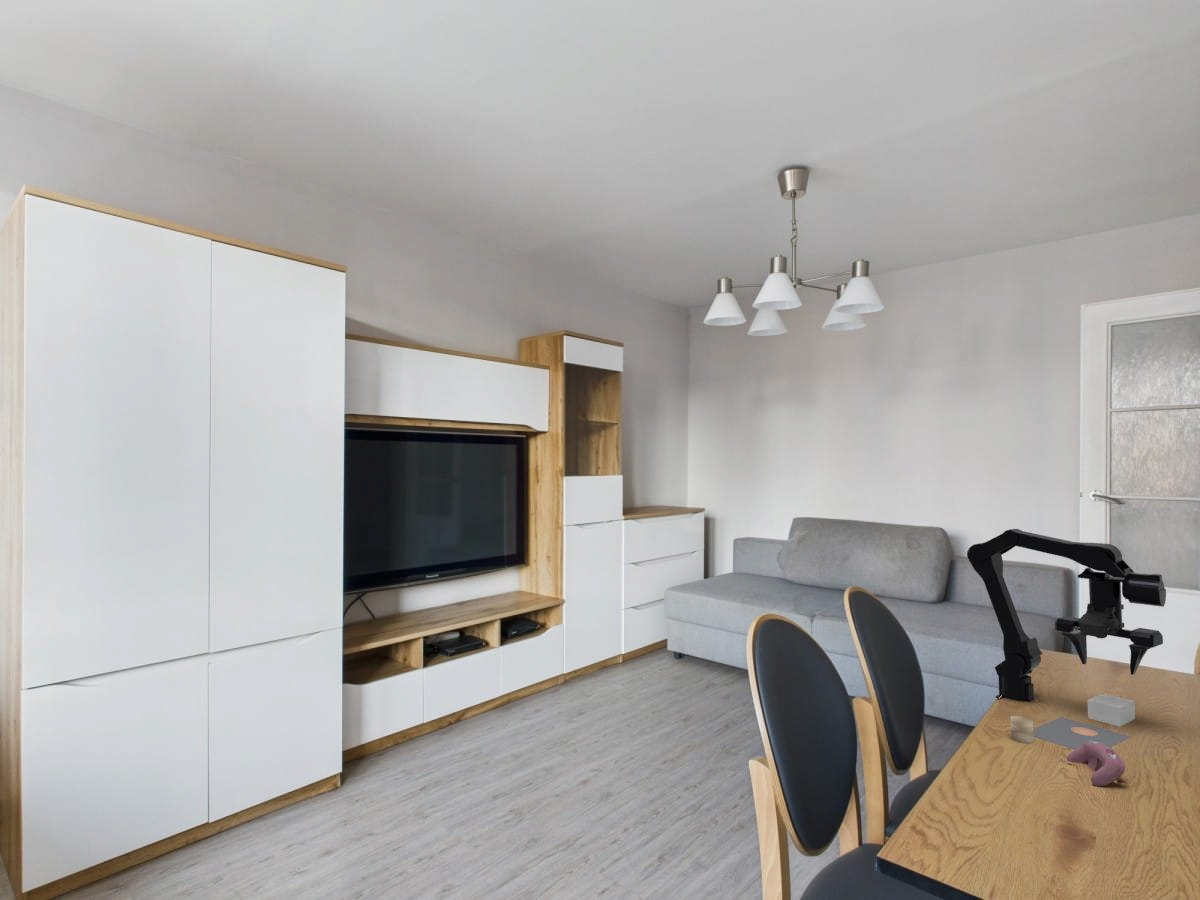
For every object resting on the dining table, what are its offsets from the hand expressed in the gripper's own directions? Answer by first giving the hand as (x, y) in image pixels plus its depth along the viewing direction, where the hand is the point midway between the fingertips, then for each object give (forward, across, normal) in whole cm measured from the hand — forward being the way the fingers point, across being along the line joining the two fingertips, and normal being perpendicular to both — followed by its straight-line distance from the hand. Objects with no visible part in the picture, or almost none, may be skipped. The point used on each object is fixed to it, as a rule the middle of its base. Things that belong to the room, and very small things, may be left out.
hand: (1107, 669), depth 146 cm
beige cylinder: (+12, -5, -28) cm, 31 cm away
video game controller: (+12, +10, -32) cm, 36 cm away
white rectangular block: (+12, 0, +1) cm, 12 cm away
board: (+12, 0, -16) cm, 20 cm away
